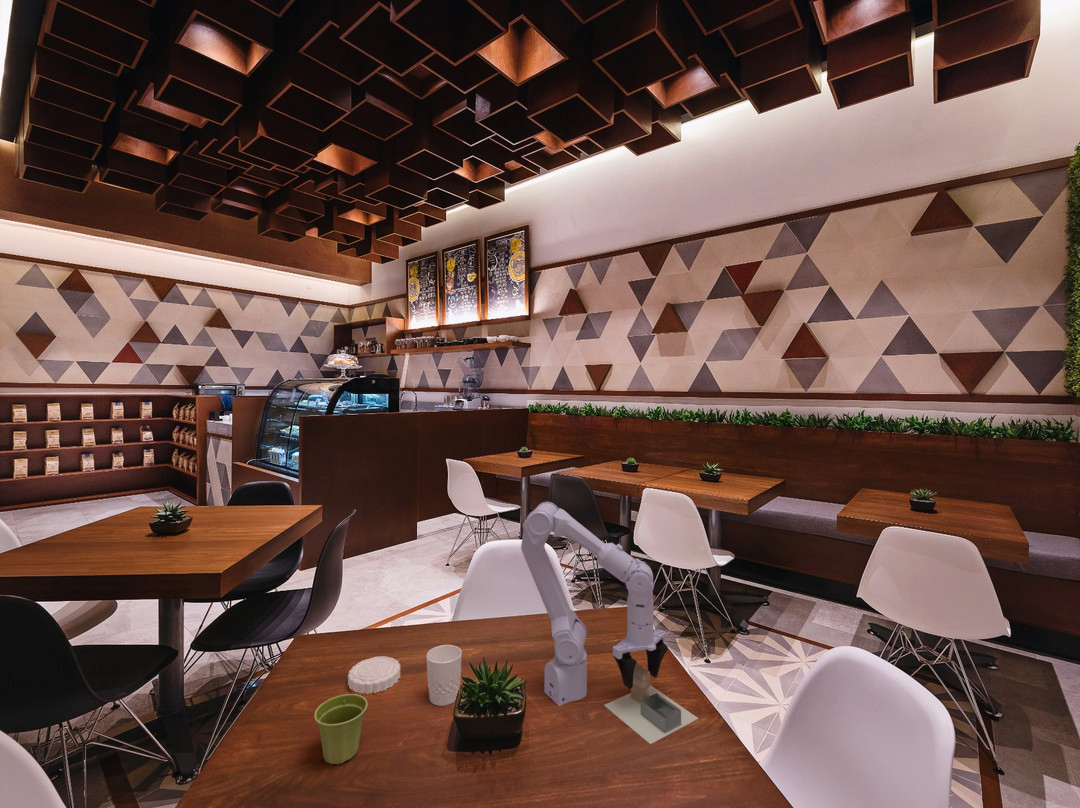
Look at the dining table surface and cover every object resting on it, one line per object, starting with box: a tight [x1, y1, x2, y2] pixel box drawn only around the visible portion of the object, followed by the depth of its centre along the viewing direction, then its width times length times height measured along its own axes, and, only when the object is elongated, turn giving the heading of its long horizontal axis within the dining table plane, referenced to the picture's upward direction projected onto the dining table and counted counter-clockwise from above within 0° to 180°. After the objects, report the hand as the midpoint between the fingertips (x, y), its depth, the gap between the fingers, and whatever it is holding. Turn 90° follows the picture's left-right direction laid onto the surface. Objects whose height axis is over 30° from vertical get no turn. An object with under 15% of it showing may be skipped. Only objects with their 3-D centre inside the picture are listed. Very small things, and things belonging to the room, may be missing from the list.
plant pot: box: [313, 693, 368, 765], centre depth 91 cm, size 9×9×9 cm
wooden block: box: [630, 663, 651, 704], centre depth 105 cm, size 2×4×7 cm, turn 32°
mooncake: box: [347, 655, 401, 694], centre depth 114 cm, size 12×12×4 cm
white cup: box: [426, 644, 463, 707], centre depth 108 cm, size 8×8×10 cm
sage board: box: [603, 684, 699, 745], centre depth 101 cm, size 14×14×1 cm
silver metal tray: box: [641, 693, 681, 733], centre depth 99 cm, size 5×7×3 cm
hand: (640, 680), depth 105 cm, fingers open, 7 cm apart
